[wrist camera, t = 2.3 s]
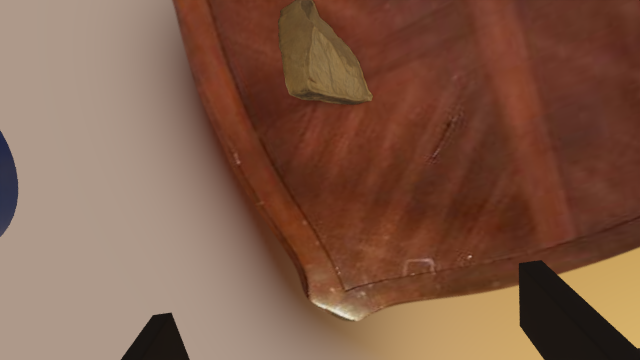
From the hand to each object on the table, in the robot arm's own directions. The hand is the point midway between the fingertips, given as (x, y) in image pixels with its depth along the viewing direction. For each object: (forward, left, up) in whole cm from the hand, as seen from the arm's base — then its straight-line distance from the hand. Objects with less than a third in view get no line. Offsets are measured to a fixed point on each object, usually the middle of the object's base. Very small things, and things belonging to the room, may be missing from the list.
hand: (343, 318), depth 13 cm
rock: (-5, +11, -24) cm, 26 cm away
